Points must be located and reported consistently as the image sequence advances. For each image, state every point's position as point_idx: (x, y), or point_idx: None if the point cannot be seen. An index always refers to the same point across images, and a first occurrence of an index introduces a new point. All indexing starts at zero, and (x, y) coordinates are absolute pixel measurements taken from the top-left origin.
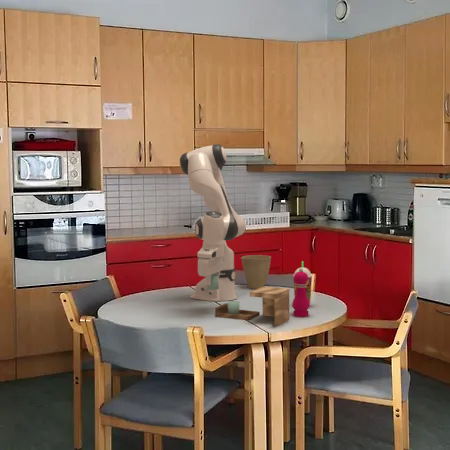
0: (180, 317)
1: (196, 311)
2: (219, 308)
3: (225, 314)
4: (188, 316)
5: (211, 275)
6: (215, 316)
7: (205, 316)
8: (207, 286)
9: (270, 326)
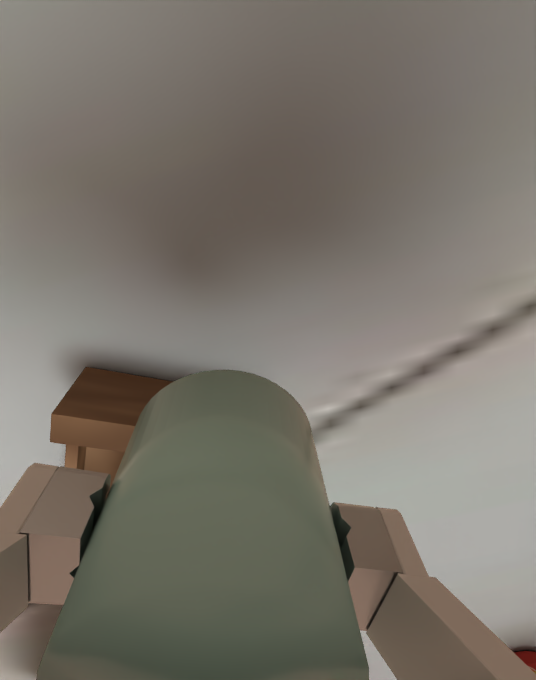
0: (17, 29)
1: (318, 131)
2: (76, 440)
3: (65, 464)
4: (92, 109)
5: (207, 666)
6: (79, 377)
7: (144, 270)
8: (161, 406)
9: (33, 656)
